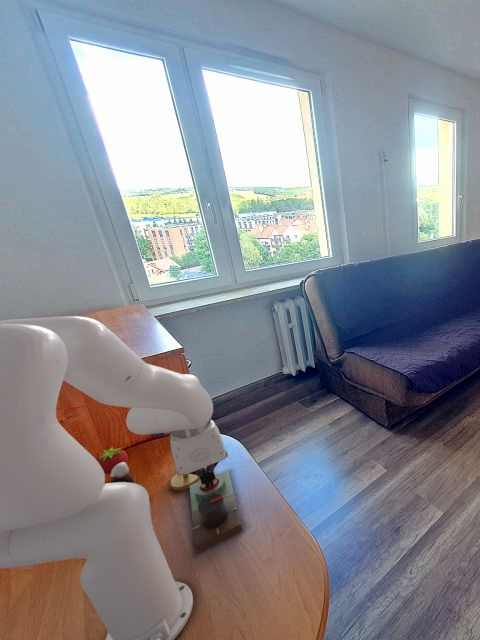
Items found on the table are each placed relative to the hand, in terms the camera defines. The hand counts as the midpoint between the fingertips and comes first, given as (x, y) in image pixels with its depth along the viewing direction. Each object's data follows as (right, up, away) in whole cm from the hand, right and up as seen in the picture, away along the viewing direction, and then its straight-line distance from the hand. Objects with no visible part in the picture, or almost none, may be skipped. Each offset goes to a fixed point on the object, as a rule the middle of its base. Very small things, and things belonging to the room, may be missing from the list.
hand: (209, 482), depth 85 cm
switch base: (0, -3, +1) cm, 3 cm away
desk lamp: (-9, -2, +5) cm, 11 cm away
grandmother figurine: (-18, -4, -2) cm, 18 cm away
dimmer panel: (+7, -6, -7) cm, 12 cm away
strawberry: (-29, -1, +6) cm, 30 cm away
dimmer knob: (+7, -5, -8) cm, 11 cm away
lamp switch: (0, -2, +1) cm, 2 cm away
